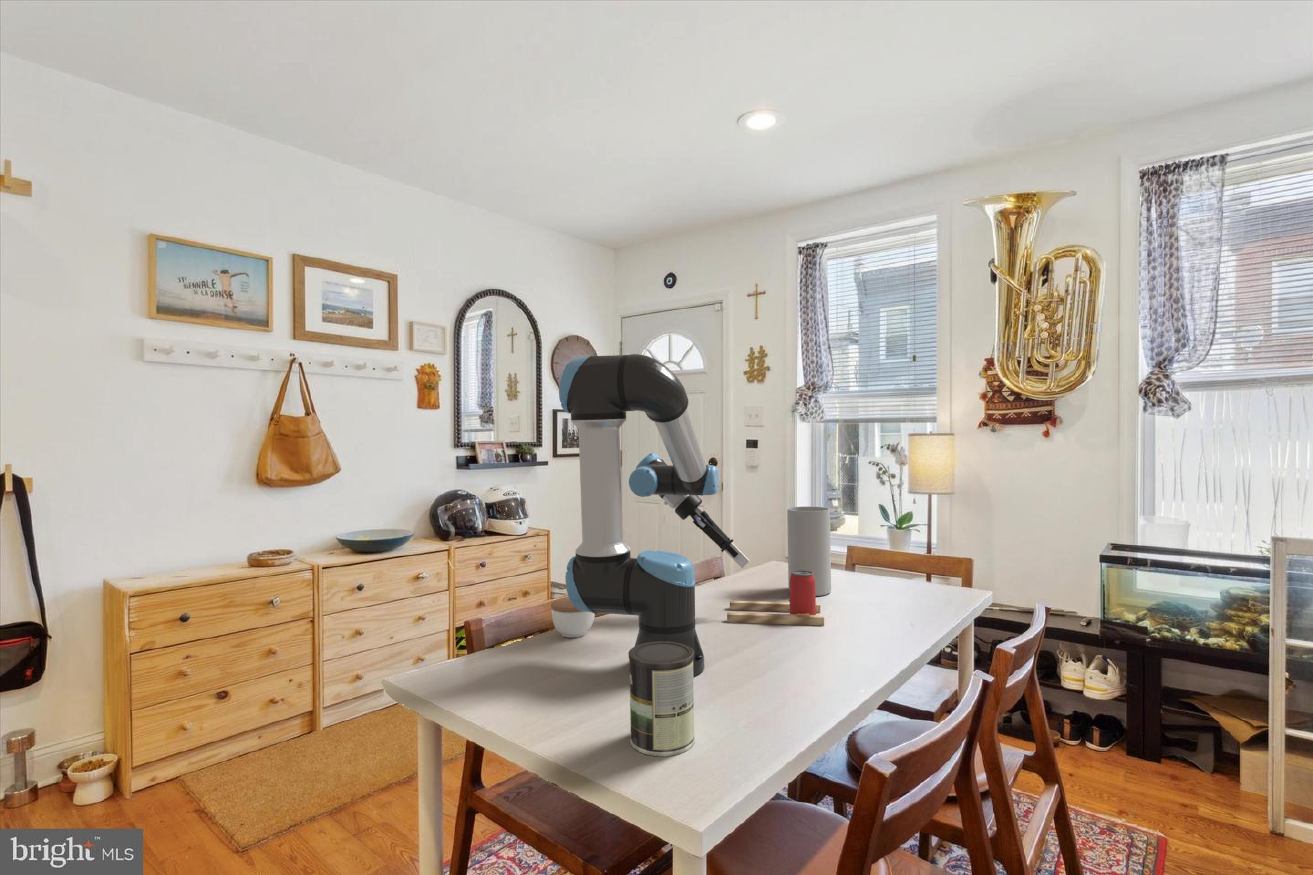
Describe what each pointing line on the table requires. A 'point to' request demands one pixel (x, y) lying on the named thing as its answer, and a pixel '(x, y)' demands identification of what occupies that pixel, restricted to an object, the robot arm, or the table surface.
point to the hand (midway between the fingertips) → (745, 564)
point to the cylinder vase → (810, 544)
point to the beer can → (802, 592)
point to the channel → (771, 618)
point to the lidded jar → (570, 618)
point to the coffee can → (661, 698)
